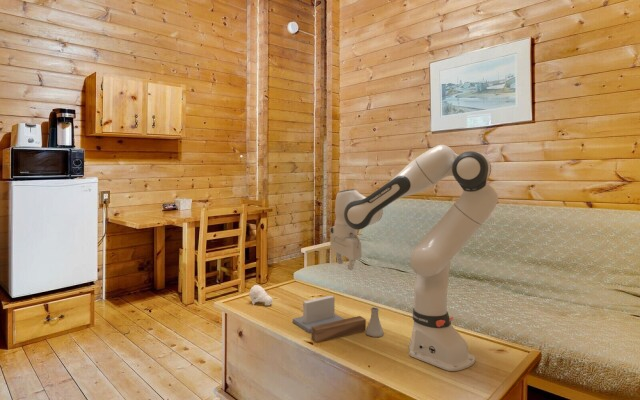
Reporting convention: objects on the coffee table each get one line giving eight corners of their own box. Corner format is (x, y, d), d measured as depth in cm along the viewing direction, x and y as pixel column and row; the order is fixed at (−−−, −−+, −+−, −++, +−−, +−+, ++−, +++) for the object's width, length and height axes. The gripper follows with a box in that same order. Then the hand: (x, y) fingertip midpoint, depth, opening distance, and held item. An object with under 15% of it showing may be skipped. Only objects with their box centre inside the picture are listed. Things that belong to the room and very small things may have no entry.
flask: (363, 336, 148) (363, 310, 147) (367, 328, 154) (367, 304, 154) (382, 338, 145) (382, 312, 144) (385, 331, 152) (385, 306, 151)
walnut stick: (365, 331, 152) (365, 319, 152) (316, 343, 142) (316, 330, 141) (359, 327, 156) (359, 315, 155) (311, 339, 145) (311, 326, 145)
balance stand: (345, 323, 160) (345, 299, 159) (309, 333, 150) (309, 308, 149) (327, 313, 171) (327, 291, 170) (292, 322, 161) (292, 299, 160)
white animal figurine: (256, 282, 188) (276, 288, 182) (255, 299, 189) (275, 305, 183) (248, 286, 182) (268, 292, 177) (247, 303, 183) (267, 310, 178)
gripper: (366, 235, 140) (365, 272, 141) (341, 226, 159) (341, 259, 160) (350, 236, 138) (349, 274, 139) (327, 227, 156) (327, 260, 158)
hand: (344, 266), depth 149 cm, fingers open, 8 cm apart
